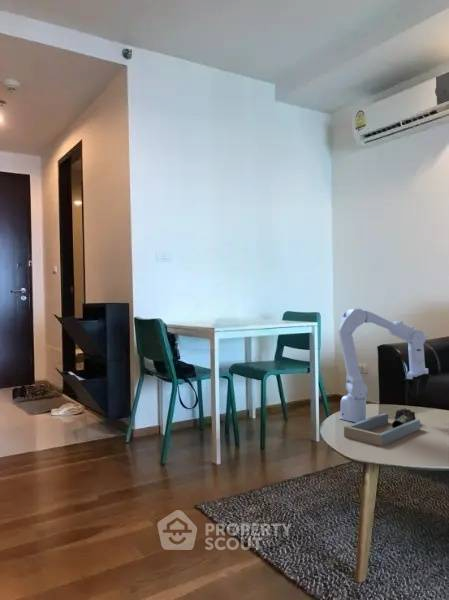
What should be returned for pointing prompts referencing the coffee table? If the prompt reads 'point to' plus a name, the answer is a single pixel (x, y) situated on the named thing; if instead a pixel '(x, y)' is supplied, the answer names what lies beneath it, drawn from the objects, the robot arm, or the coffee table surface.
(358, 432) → the grey rectangular tray
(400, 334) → the robot arm
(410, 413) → the jagged brown rock
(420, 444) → the coffee table surface
